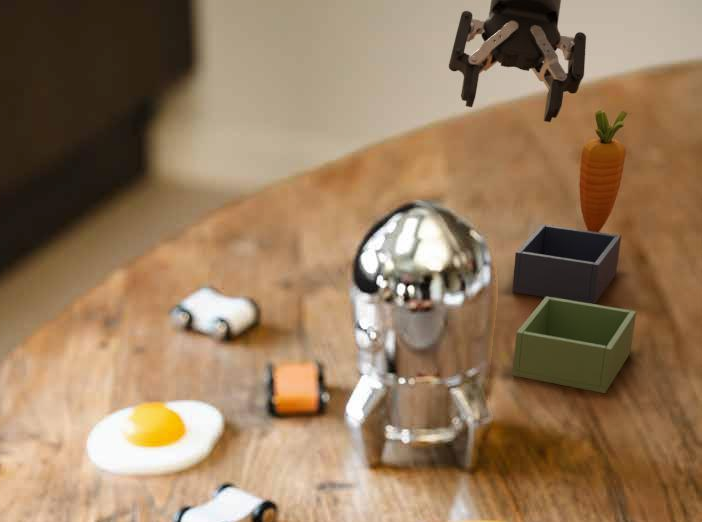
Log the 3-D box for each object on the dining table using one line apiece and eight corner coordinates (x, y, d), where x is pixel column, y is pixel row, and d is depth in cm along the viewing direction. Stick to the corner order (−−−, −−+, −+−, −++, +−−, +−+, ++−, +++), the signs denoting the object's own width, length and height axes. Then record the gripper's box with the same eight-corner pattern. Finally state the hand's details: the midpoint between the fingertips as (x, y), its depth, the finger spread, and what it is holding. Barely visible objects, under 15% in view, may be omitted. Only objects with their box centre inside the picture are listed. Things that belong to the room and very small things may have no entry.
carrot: (613, 229, 148) (630, 102, 139) (614, 244, 144) (632, 115, 135) (572, 228, 148) (586, 101, 139) (572, 243, 145) (587, 114, 136)
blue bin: (616, 274, 137) (621, 235, 134) (593, 305, 130) (598, 265, 127) (537, 262, 140) (541, 223, 137) (512, 292, 134) (515, 252, 131)
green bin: (630, 353, 121) (636, 311, 118) (605, 393, 114) (611, 349, 112) (541, 337, 124) (545, 296, 122) (512, 375, 118) (516, 332, 115)
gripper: (471, -53, 129) (450, 73, 124) (602, -28, 129) (585, 98, 124) (458, -1, 136) (438, 120, 132) (581, 22, 136) (565, 143, 132)
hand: (509, 109), depth 128 cm, fingers open, 8 cm apart
